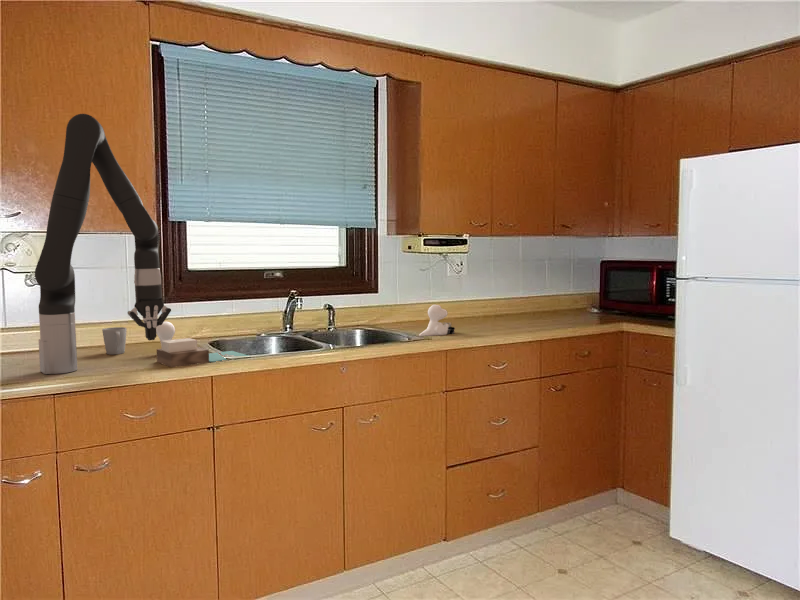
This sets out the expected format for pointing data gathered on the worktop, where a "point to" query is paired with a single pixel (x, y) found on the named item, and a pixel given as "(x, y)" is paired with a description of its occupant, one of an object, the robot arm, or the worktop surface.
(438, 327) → the figurine
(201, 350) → the brown wooden block
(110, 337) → the cup
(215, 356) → the mat
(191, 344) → the pale pink rectangular block
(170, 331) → the lightbulb
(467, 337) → the worktop surface
